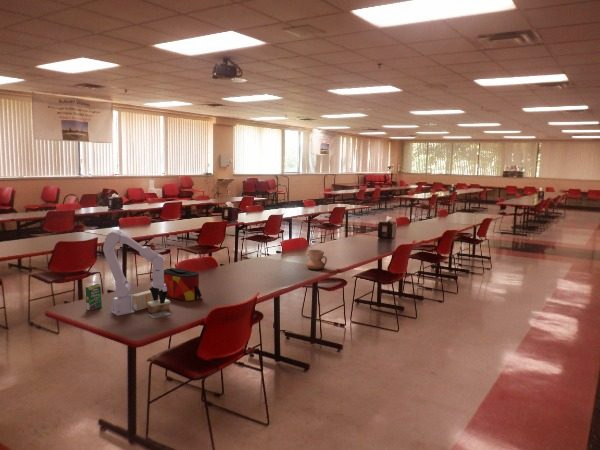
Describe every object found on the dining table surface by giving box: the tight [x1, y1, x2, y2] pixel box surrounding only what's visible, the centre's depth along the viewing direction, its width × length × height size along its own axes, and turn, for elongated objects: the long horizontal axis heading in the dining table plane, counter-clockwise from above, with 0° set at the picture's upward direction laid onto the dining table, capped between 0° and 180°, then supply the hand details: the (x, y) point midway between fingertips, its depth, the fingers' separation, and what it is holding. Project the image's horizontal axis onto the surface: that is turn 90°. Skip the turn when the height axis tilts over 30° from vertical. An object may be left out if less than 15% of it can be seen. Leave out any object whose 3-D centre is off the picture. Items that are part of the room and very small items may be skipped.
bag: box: [164, 267, 202, 302], centre depth 283 cm, size 30×14×16 cm, turn 56°
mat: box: [147, 310, 173, 319], centre depth 249 cm, size 10×7×1 cm
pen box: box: [147, 303, 170, 314], centre depth 255 cm, size 10×4×4 cm, turn 133°
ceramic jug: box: [305, 249, 328, 271], centre depth 365 cm, size 18×14×14 cm
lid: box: [147, 298, 171, 307], centre depth 255 cm, size 11×5×1 cm, turn 133°
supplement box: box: [131, 289, 156, 311], centre depth 261 cm, size 8×5×13 cm
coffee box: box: [84, 283, 103, 312], centre depth 256 cm, size 8×3×13 cm, turn 151°
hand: (158, 301), depth 255 cm, fingers open, 7 cm apart
